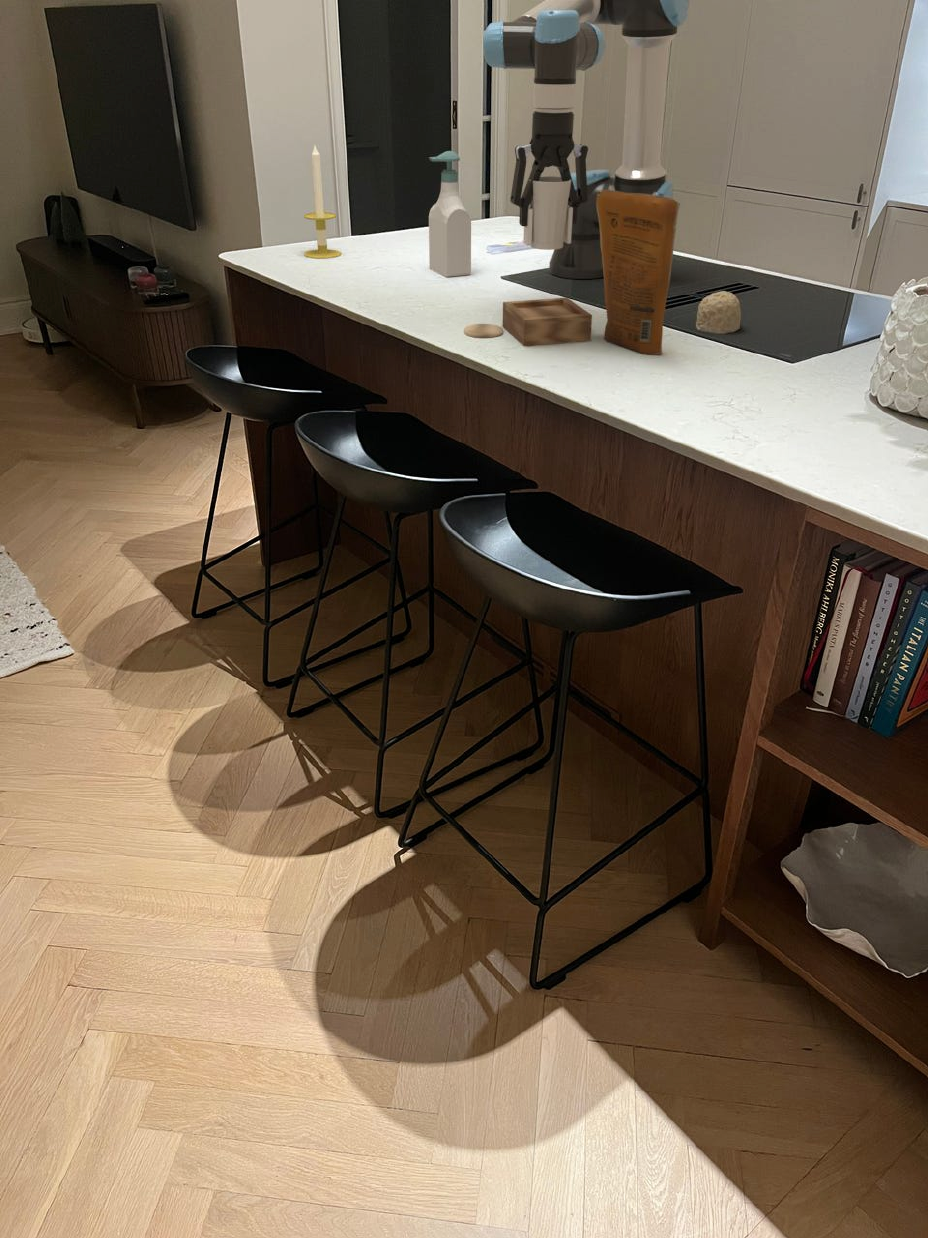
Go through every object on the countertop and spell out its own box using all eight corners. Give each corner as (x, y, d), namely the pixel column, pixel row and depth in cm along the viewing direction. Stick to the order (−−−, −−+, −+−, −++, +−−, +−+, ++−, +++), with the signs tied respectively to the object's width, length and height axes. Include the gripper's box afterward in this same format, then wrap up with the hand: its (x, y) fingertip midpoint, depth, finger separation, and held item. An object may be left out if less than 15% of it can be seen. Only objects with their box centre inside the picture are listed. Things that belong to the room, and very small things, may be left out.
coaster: (496, 325, 201) (496, 322, 200) (508, 336, 194) (508, 333, 194) (459, 328, 199) (459, 325, 198) (469, 339, 192) (469, 336, 192)
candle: (349, 253, 259) (342, 142, 244) (325, 260, 252) (317, 146, 237) (320, 248, 263) (312, 139, 249) (296, 255, 256) (286, 143, 242)
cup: (564, 251, 183) (568, 182, 177) (523, 249, 185) (525, 181, 178) (569, 243, 190) (573, 176, 183) (529, 241, 191) (532, 175, 185)
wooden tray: (565, 321, 203) (567, 297, 200) (590, 340, 192) (592, 314, 189) (502, 326, 200) (503, 301, 197) (523, 345, 189) (524, 319, 186)
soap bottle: (423, 268, 244) (420, 149, 229) (452, 265, 247) (452, 147, 232) (440, 278, 235) (439, 154, 220) (470, 275, 238) (471, 152, 223)
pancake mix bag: (649, 360, 181) (666, 200, 166) (583, 336, 194) (594, 185, 179) (675, 354, 184) (694, 197, 169) (608, 331, 197) (621, 182, 182)
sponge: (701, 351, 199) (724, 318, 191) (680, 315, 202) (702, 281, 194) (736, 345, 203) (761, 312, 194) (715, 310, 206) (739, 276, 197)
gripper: (598, 107, 180) (589, 236, 192) (494, 109, 175) (491, 241, 188) (613, 110, 174) (603, 244, 186) (506, 112, 169) (502, 249, 182)
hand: (547, 242), depth 187 cm, fingers closed on cup, 7 cm apart
